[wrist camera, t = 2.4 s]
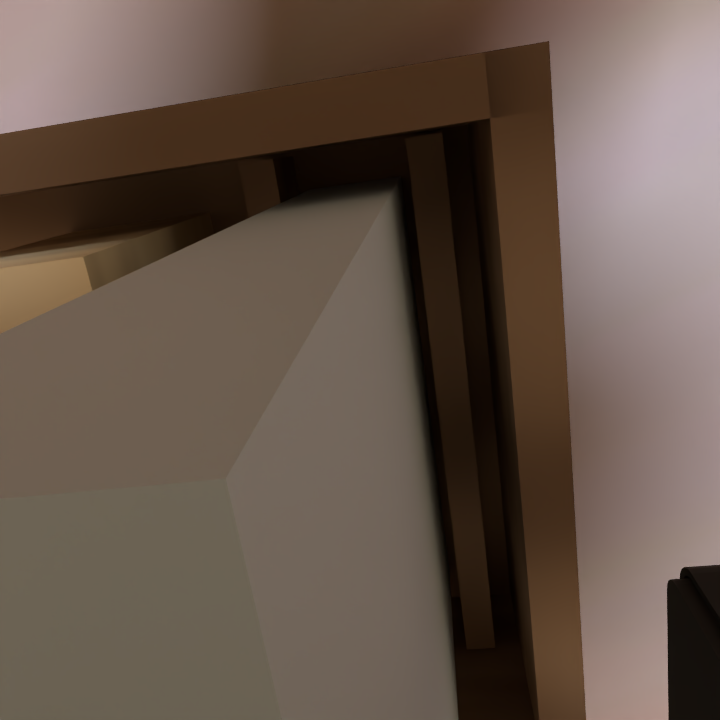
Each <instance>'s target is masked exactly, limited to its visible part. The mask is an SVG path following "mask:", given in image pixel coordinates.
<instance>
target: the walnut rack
mask: <svg viewBox="0 0 720 720" xmlns="http://www.w3.org/2000/svg"><path fill="white" fill-rule="evenodd" d="M399 176H401V183H402V191H403V199H404V207H405V215H406V223H407V231H408V239H409V247H410V255H411V263H412V272H413V280H414V288H415V296H416V304H417V312H418V320H419V328H420V336H421V344H422V352H423V360H424V368H425V377H426V385H427V393H428V401H429V409H430V417H431V425H432V433H433V441H434V449H435V457H436V465H437V473H438V482H439V490H440V498H441V506H442V514H443V522H444V530H445V538H446V546H447V554H448V562H449V570H450V587H451V604H452V620H453V637H454V654H455V671H456V687H457V704H458V720H586V712H585V693H584V675H583V657H582V638H581V620H580V602H579V583H578V565H577V547H576V528H575V510H574V492H573V474H572V455H571V437H570V419H569V400H568V382H567V364H566V345H565V327H564V309H563V290H562V272H561V254H560V235H559V217H558V199H557V180H556V162H555V144H554V125H553V107H552V89H551V70H550V52H549V41H548V42H542V43H536V44H530V45H524V46H518V47H512V48H506V49H500V50H495V51H489V52H483V53H477V54H471V55H465V56H459V57H453V58H447V59H441V60H435V61H430V62H424V63H418V64H412V65H406V66H400V67H394V68H388V69H382V70H376V71H371V72H365V73H359V74H353V75H347V76H341V77H335V78H329V79H323V80H317V81H311V82H306V83H300V84H294V85H288V86H282V87H276V88H270V89H264V90H258V91H252V92H246V93H241V94H235V95H229V96H223V97H217V98H211V99H205V100H199V101H193V102H187V103H181V104H176V105H170V106H164V107H158V108H152V109H146V110H140V111H134V112H128V113H122V114H117V115H111V116H105V117H99V118H93V119H87V120H81V121H75V122H69V123H63V124H57V125H52V126H46V127H40V128H34V129H28V130H22V131H16V132H10V133H4V134H0V252H1V251H4V250H8V249H12V248H16V247H19V246H23V245H27V244H30V243H34V242H38V241H41V240H45V239H49V238H52V237H56V236H60V235H63V234H67V233H71V232H77V231H84V230H91V229H98V228H105V227H112V226H119V225H125V224H132V223H139V222H146V221H153V220H160V219H167V218H173V217H180V216H187V215H194V214H201V213H208V212H209V213H210V218H211V222H212V227H213V232H214V234H216V233H218V232H220V231H222V230H224V229H226V228H228V227H231V226H233V225H235V224H237V223H239V222H241V221H244V220H246V219H248V218H250V217H252V216H254V215H256V214H259V213H261V212H263V211H265V210H267V209H269V208H271V207H274V206H276V205H278V204H280V203H282V202H284V201H287V200H289V199H291V198H293V197H295V196H297V195H299V194H302V193H304V192H306V191H308V190H311V189H318V188H325V187H331V186H338V185H345V184H352V183H359V182H365V181H372V180H379V179H386V178H392V177H399Z"/></svg>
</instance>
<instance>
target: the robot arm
mask: <svg viewBox="0 0 720 720" xmlns="http://www.w3.org/2000/svg"><path fill="white" fill-rule="evenodd" d="M667 617H668V702H669V720H720V565H712V566H697V567H684V568H683V569H682V570H681V573H680V579H672V580H669V581H668V584H667Z"/></svg>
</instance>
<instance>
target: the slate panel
mask: <svg viewBox="0 0 720 720" xmlns="http://www.w3.org/2000/svg"><path fill="white" fill-rule="evenodd" d="M0 720H458V704H457V687H456V671H455V654H454V637H453V620H452V604H451V587H450V570H449V562H448V554H447V546H446V538H445V530H444V522H443V514H442V506H441V498H440V490H439V482H438V473H437V465H436V457H435V449H434V441H433V433H432V425H431V417H430V409H429V401H428V393H427V385H426V377H425V368H424V360H423V352H422V344H421V336H420V328H419V320H418V312H417V304H416V296H415V288H414V280H413V272H412V263H411V255H410V247H409V239H408V231H407V223H406V215H405V207H404V199H403V191H402V183H401V176H399V177H392V178H386V179H379V180H372V181H365V182H359V183H352V184H345V185H338V186H331V187H325V188H318V189H311V190H308V191H306V192H304V193H302V194H299V195H297V196H295V197H293V198H291V199H289V200H287V201H284V202H282V203H280V204H278V205H276V206H274V207H271V208H269V209H267V210H265V211H263V212H261V213H259V214H256V215H254V216H252V217H250V218H248V219H246V220H244V221H241V222H239V223H237V224H235V225H233V226H231V227H228V228H226V229H224V230H222V231H220V232H218V233H216V234H213V235H211V236H209V237H207V238H205V239H203V240H201V241H198V242H196V243H194V244H192V245H190V246H188V247H185V248H183V249H181V250H179V251H177V252H175V253H173V254H170V255H168V256H166V257H164V258H162V259H160V260H158V261H155V262H153V263H151V264H149V265H147V266H145V267H142V268H140V269H138V270H136V271H134V272H132V273H130V274H127V275H125V276H123V277H121V278H119V279H117V280H115V281H112V282H110V283H108V284H106V285H104V286H102V287H99V288H97V289H95V290H93V291H91V292H89V293H87V294H84V295H82V296H80V297H78V298H76V299H74V300H72V301H69V302H67V303H65V304H63V305H61V306H59V307H56V308H54V309H52V310H50V311H48V312H46V313H44V314H41V315H39V316H37V317H35V318H33V319H31V320H29V321H26V322H24V323H22V324H20V325H18V326H16V327H13V328H11V329H9V330H7V331H5V332H3V333H1V334H0Z"/></svg>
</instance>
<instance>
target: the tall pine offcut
mask: <svg viewBox="0 0 720 720" xmlns="http://www.w3.org/2000/svg"><path fill="white" fill-rule="evenodd" d="M213 234H214V232H213V227H212V222H211V218H210V213H209V212H208V213H201V214H194V215H187V216H180V217H173V218H167V219H160V220H153V221H146V222H139V223H132V224H125V225H119V226H112V227H105V228H98V229H91V230H84V231H77V232H71V233H67V234H63V235H60V236H56V237H52V238H49V239H45V240H41V241H38V242H34V243H30V244H27V245H23V246H19V247H16V248H12V249H8V250H4V251H1V252H0V334H1V333H3V332H5V331H7V330H9V329H11V328H13V327H16V326H18V325H20V324H22V323H24V322H26V321H29V320H31V319H33V318H35V317H37V316H39V315H41V314H44V313H46V312H48V311H50V310H52V309H54V308H56V307H59V306H61V305H63V304H65V303H67V302H69V301H72V300H74V299H76V298H78V297H80V296H82V295H84V294H87V293H89V292H91V291H93V290H95V289H97V288H99V287H102V286H104V285H106V284H108V283H110V282H112V281H115V280H117V279H119V278H121V277H123V276H125V275H127V274H130V273H132V272H134V271H136V270H138V269H140V268H142V267H145V266H147V265H149V264H151V263H153V262H155V261H158V260H160V259H162V258H164V257H166V256H168V255H170V254H173V253H175V252H177V251H179V250H181V249H183V248H185V247H188V246H190V245H192V244H194V243H196V242H198V241H201V240H203V239H205V238H207V237H209V236H211V235H213Z"/></svg>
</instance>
